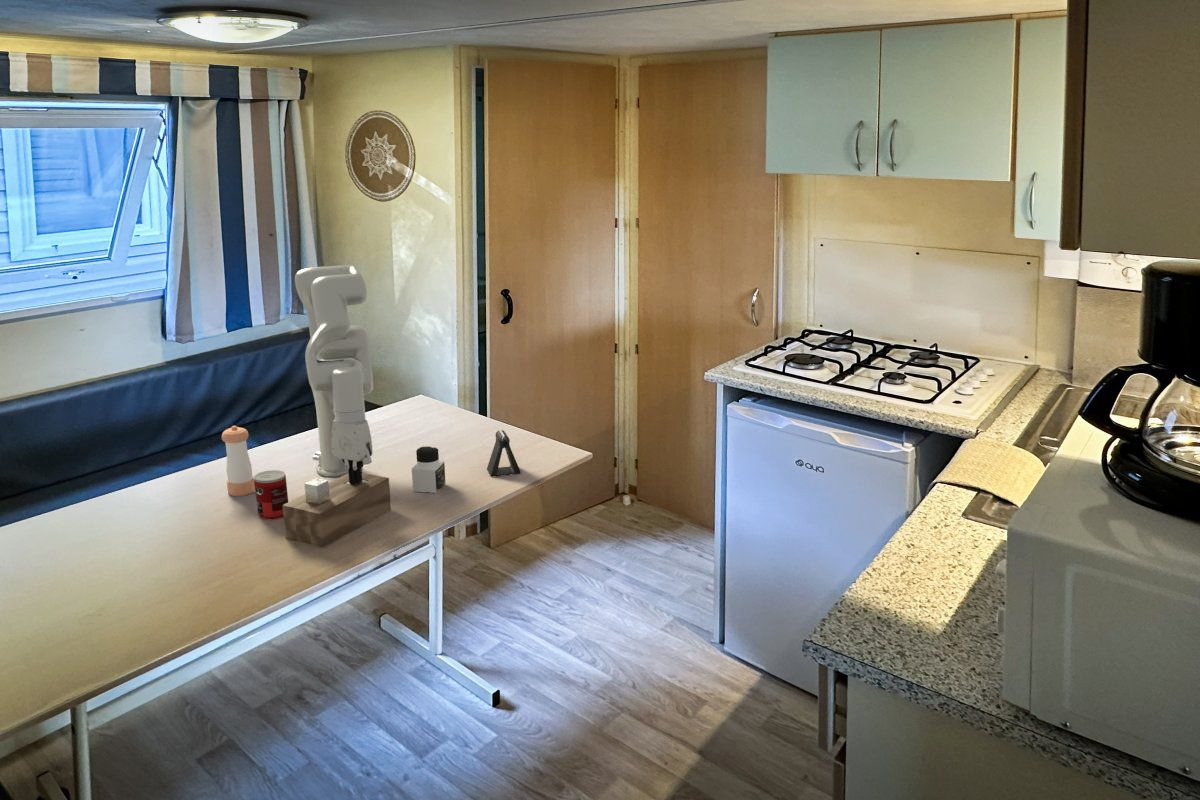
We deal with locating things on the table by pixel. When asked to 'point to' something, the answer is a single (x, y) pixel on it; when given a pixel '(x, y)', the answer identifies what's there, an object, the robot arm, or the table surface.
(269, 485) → the canned food
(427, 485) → the medicine bottle
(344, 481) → the walnut block
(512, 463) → the phone stand
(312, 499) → the pin
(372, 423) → the table surface
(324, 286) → the robot arm
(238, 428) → the pepper shaker
